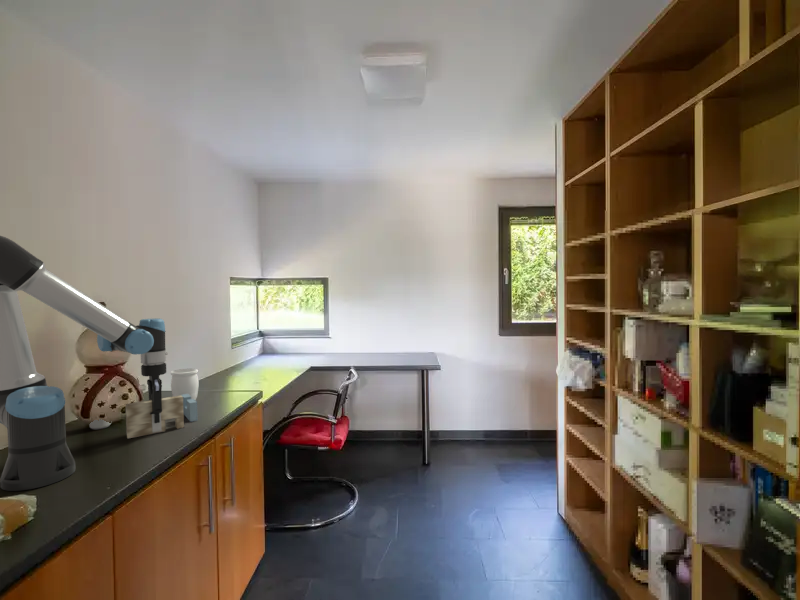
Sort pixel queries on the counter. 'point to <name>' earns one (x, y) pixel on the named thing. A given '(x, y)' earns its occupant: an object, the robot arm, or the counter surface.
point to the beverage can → (99, 424)
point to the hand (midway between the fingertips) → (156, 430)
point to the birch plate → (142, 420)
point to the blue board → (189, 408)
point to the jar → (185, 382)
